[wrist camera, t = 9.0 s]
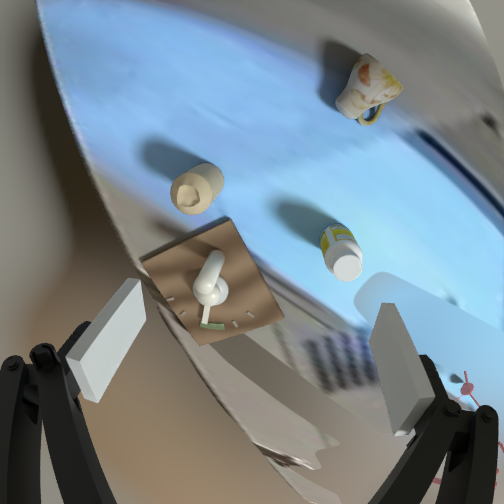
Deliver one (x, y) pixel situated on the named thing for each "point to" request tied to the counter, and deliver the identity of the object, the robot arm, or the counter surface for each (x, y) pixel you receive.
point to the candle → (197, 188)
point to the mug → (367, 90)
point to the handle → (211, 283)
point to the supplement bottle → (341, 252)
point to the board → (233, 271)
